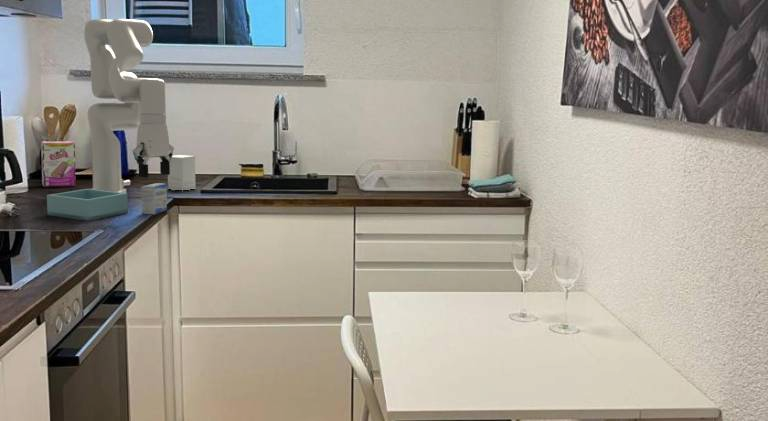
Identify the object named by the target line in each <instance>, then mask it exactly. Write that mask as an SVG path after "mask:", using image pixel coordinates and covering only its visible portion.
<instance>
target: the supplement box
mask: <svg viewBox="0 0 768 421" xmlns="http://www.w3.org/2000/svg"><path fill="white" fill-rule="evenodd" d="M168 189H171V190H170V191H175V190H182V191H181V192H184V191H183V190H189V191H191V190H190V189H195V190H196V156H195V155H184V154H183V155H182V154H176V155H175V154H174V155H172V157H171V161H170V174H169V175H167V190H168Z"/></svg>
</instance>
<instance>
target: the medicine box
mask: <svg viewBox="0 0 768 421" xmlns="http://www.w3.org/2000/svg"><path fill="white" fill-rule="evenodd" d="M140 193H141V194H140V195H141V214H143V215H153V216H155V215H158V214H161V213H164V212H166V211H167V210H168V206H167V205H168V204H167V202H168V200H167V199H168V198H167V196H168V195H167V184H166V183H160V182H157V183H156V182H154V183H151V184H148V185H147V184H146V185H143V186H141V187H140Z"/></svg>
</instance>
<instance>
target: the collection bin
mask: <svg viewBox="0 0 768 421" xmlns="http://www.w3.org/2000/svg"><path fill="white" fill-rule="evenodd" d="M128 198H129V196H128V192H126V193H120V192H112V191H103V190H94V189H93V188H85V189H84V188H83V189H77V190H70V191H64V192H59V193H51V194H46V208H47V216H52V217H58V218H66V219H75V220H82V221H88V222H89V221H93V220H99V219H104V218H108V217H114V216H118V215H124V214H128V213H129V204H128V203H129V202H128V201H129V200H128Z"/></svg>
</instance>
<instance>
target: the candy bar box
mask: <svg viewBox="0 0 768 421" xmlns="http://www.w3.org/2000/svg"><path fill="white" fill-rule="evenodd" d="M40 143H41V144H40V151H41V154H40V155H41V156H40V157H41V182H42V184H41V185H42V187H44V188H47V187H48V188H50V187H51V188H53V187H55V188H56V187H76V180H77V179H76V145H75V144H76V143H75V142H74V141H70V140H69V141H50V140H48V141H40Z"/></svg>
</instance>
